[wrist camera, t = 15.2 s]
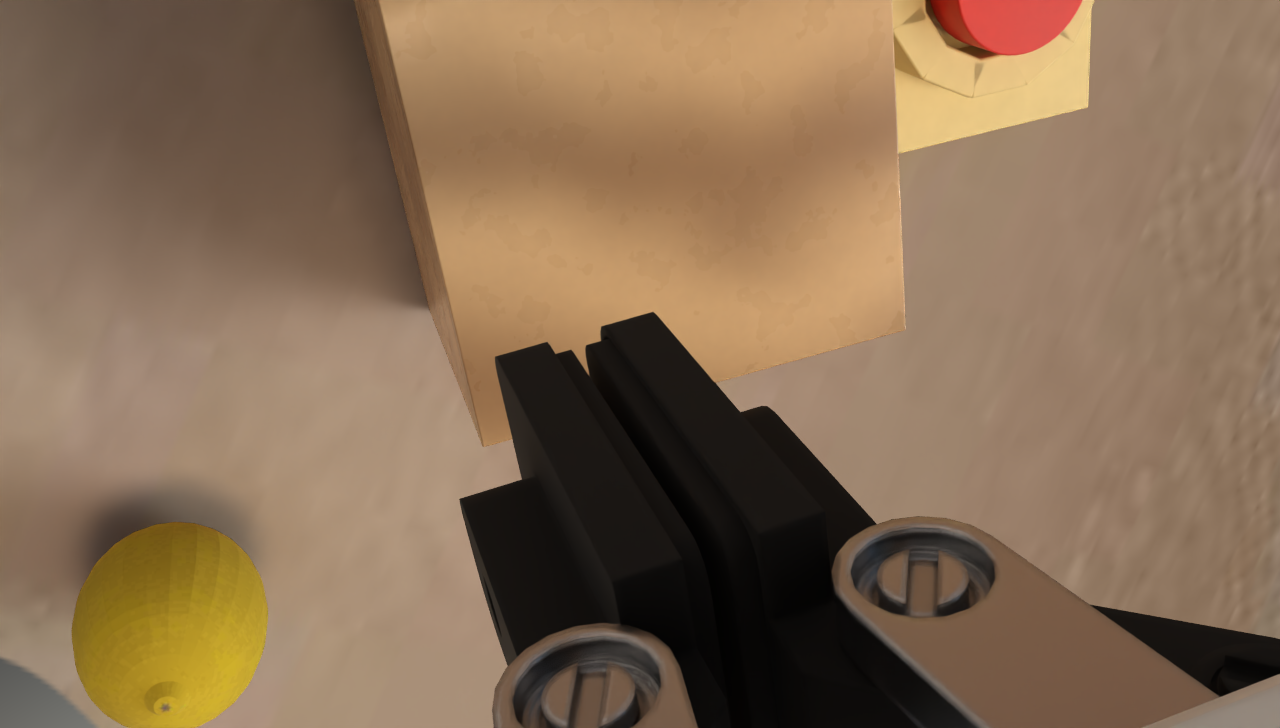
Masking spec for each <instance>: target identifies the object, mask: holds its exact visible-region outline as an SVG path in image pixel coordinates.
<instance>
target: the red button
mask: <svg viewBox="0 0 1280 728" xmlns="http://www.w3.org/2000/svg"><path fill="white" fill-rule="evenodd" d="M930 3H931V6H932V9H933V12H934V14H935V16H936V18H937V20H938V22H939V23H940V25H941V26H942V27H943V29H944V30H945V31H946V32H947V33H948V34H950V35H951V36H952V37H954V38H955V39H957V40H959V41H961V42H963V43H966V44H969V45H972V46H975V47H978V48H981V49H984V50H987V51H990V52H993V53H996V54H1000V55H1007V56H1011V55H1021V54H1026V53H1029V52H1032V51H1035V50H1037V49H1039V48H1041V47H1043V46H1044V45H1046V44H1048V43H1049V42H1051V41H1052V40H1053V39H1054V38H1056V37H1057V36H1058V35H1059V34H1060V33H1061V32H1062V31H1063V30H1064V29H1065V28H1066V26H1067V25H1068V24H1069V23H1070V22H1071V20H1072V19H1073V17H1074V16H1075V14H1076V12H1077V11H1078V9H1079V7H1080V5H1081V3H1082V0H930Z"/></svg>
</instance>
